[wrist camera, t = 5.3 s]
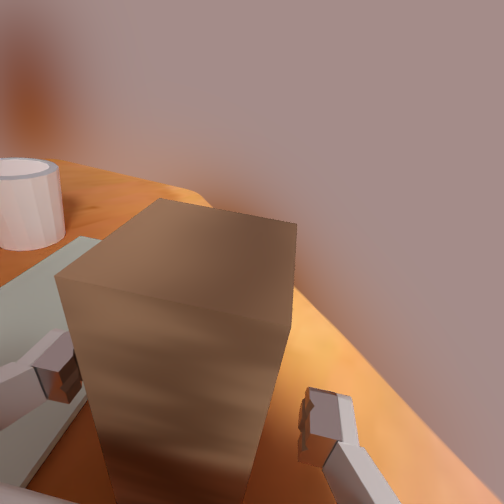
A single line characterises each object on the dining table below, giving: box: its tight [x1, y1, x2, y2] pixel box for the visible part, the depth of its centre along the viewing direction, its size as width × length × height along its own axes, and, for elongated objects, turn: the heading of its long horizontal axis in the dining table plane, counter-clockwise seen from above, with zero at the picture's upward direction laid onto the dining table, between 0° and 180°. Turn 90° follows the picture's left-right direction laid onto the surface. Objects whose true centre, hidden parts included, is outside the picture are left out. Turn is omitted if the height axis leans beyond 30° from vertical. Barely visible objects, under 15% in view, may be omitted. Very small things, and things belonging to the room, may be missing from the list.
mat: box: [0, 236, 102, 488], centre depth 20 cm, size 11×20×1 cm, turn 170°
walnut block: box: [54, 198, 297, 504], centre depth 11 cm, size 5×5×12 cm
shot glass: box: [0, 158, 66, 251], centre depth 27 cm, size 7×7×7 cm
